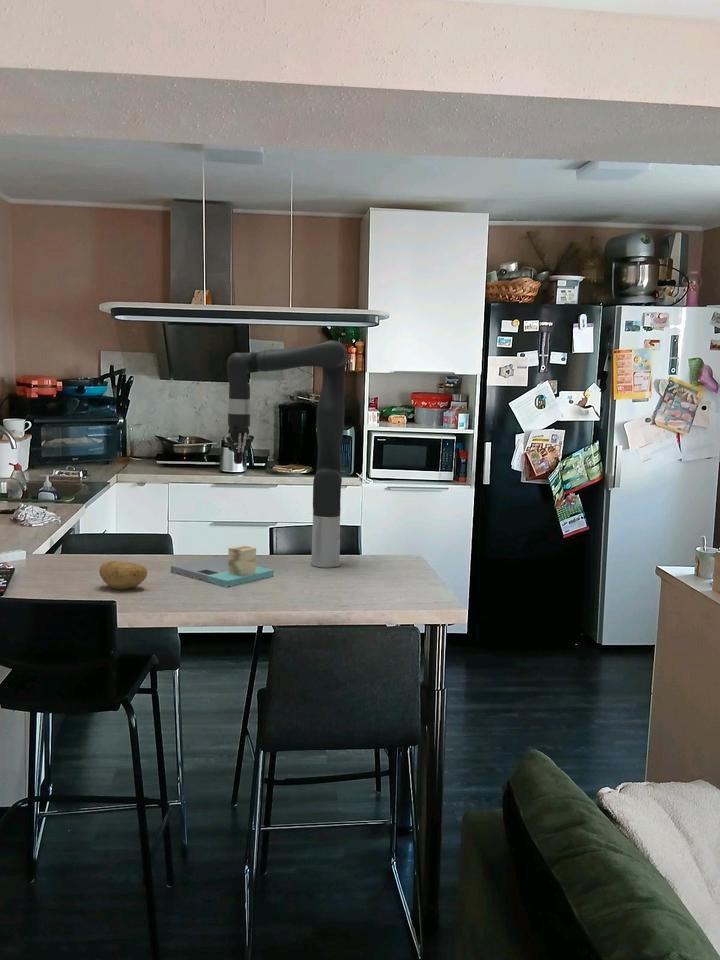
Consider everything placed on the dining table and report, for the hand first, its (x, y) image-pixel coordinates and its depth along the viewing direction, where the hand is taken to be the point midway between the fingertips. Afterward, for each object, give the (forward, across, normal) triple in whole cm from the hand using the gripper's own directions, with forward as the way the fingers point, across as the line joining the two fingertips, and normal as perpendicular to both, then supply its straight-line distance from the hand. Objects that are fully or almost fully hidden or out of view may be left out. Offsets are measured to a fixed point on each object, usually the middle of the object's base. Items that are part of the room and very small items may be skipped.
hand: (238, 463), depth 295 cm
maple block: (+31, -18, -22) cm, 42 cm away
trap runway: (+33, -18, -13) cm, 40 cm away
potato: (+33, -51, -6) cm, 61 cm away
